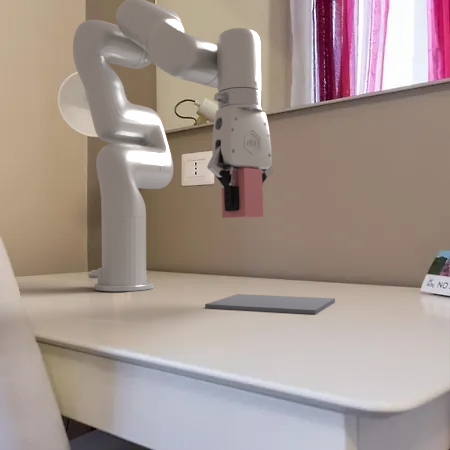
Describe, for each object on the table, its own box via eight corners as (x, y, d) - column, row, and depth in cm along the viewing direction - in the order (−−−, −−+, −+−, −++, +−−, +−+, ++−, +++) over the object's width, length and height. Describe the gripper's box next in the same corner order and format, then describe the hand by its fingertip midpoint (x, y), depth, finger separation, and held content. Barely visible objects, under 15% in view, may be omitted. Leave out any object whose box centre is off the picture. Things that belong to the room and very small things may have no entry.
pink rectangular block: (245, 216, 87) (244, 167, 87) (222, 217, 91) (221, 171, 91) (263, 216, 89) (261, 169, 89) (239, 218, 94) (238, 173, 94)
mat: (205, 307, 85) (205, 304, 85) (237, 297, 98) (237, 294, 98) (315, 314, 78) (315, 310, 78) (335, 301, 91) (334, 298, 91)
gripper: (215, 91, 82) (218, 209, 82) (289, 106, 93) (292, 210, 93) (187, 101, 88) (189, 211, 88) (260, 114, 99) (262, 212, 98)
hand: (242, 209), depth 90 cm, fingers closed on pink rectangular block, 4 cm apart
